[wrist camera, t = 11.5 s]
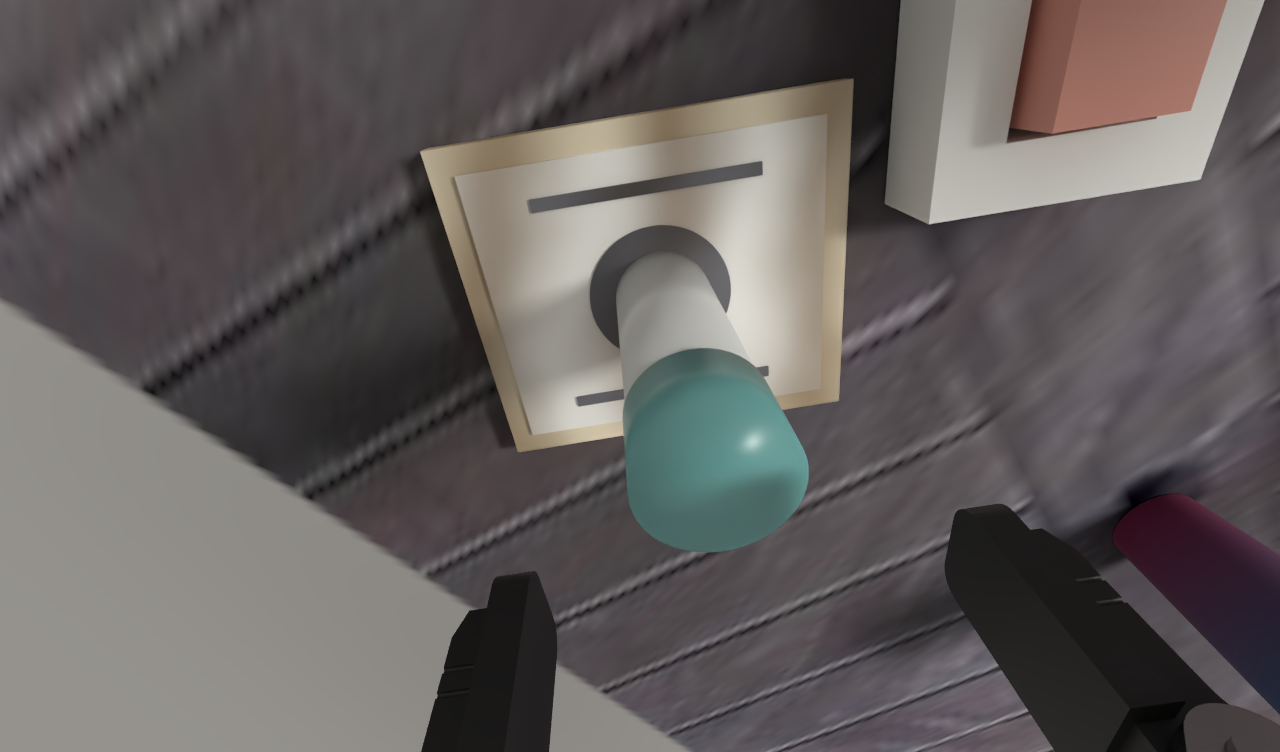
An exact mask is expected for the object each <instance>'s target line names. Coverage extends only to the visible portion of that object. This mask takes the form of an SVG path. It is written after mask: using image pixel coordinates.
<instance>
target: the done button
mask: <svg viewBox="0 0 1280 752" xmlns="http://www.w3.org/2000/svg"><path fill="white" fill-rule="evenodd" d="M1226 3H1227V0H1032V3H1031V9H1030V15H1029V20H1028V26H1027V31H1026V37H1025V42H1024V48H1023V53H1022V59H1021V64H1020V70H1019V76H1018V81H1017V87H1016V92H1015V98H1014V103H1013V109H1012V114H1011V120H1010V125H1009V128H1015V129H1022V130H1029V131H1037V132H1044V133H1051V134H1054V133H1060V132H1066V131H1072V130H1078V129H1084V128H1090V127H1096V126H1102V125H1108V124H1114V123H1120V122H1126V121H1132V120H1138V119H1144V118H1150V117H1156V116H1162V115H1168V114H1174V113H1180V112H1186V111H1191V109H1192V106H1193V103H1194V100H1195V97H1196V94H1197V91H1198V88H1199V85H1200V81H1201V78H1202V75H1203V72H1204V69H1205V66H1206V63H1207V60H1208V57H1209V54H1210V51H1211V48H1212V45H1213V42H1214V39H1215V36H1216V33H1217V30H1218V27H1219V24H1220V21H1221V18H1222V15H1223V12H1224V9H1225V6H1226Z"/></svg>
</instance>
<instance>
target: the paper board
mask: <svg viewBox="0 0 1280 752" xmlns="http://www.w3.org/2000/svg"><path fill="white" fill-rule="evenodd" d="M853 85H854V79H844V78H843V79H837V80H831V81H825V82H819V83H813V84H807V85H801V86H795V87H789V88H783V89H777V90H771V91H765V92H759V93H753V94H747V95H741V96H735V97H729V98H723V99H717V100H711V101H706V102H700V103H694V104H688V105H682V106H676V107H670V108H664V109H658V110H652V111H646V112H640V113H634V114H628V115H622V116H616V117H610V118H604V119H598V120H592V121H586V122H580V123H574V124H568V125H562V126H556V127H550V128H545V129H539V130H533V131H527V132H521V133H515V134H509V135H503V136H497V137H491V138H485V139H479V140H473V141H467V142H461V143H455V144H449V145H443V146H437V147H431V148H427V149H424V150H422V151H420V153H421V156H422V159H423V163H424V166H425V169H426V172H427V175H428V178H429V181H430V184H431V187H432V190H433V193H434V196H435V199H436V202H437V205H438V208H439V212H440V215H441V218H442V221H443V224H444V227H445V230H446V233H447V236H448V239H449V242H450V245H451V248H452V251H453V254H454V257H455V260H456V264H457V267H458V270H459V273H460V276H461V279H462V282H463V285H464V288H465V291H466V294H467V297H468V300H469V303H470V306H471V309H472V313H473V316H474V319H475V322H476V325H477V328H478V331H479V334H480V337H481V340H482V343H483V346H484V349H485V352H486V355H487V358H488V361H489V365H490V368H491V371H492V374H493V377H494V380H495V383H496V386H497V389H498V392H499V395H500V398H501V401H502V404H503V407H504V410H505V414H506V417H507V420H508V423H509V426H510V429H511V432H512V435H513V438H514V441H515V444H516V447H517V450H518V452H523V451H530V450H536V449H542V448H548V447H554V446H561V445H567V444H573V443H579V442H586V441H592V440H598V439H604V438H610V437H617V436H623V435H624V434H623V421H622V417H623V407H624V402H625V401H624V390H623V378H622V366H621V354H620V342H619V331H618V319H617V307H616V291H617V286H618V283H619V281H620V279H621V276H622V275H623V273H624V272H625V271H626V269H627V268H628V267H629V266H630V265H631V264H632V263H633V262H635V261H636V260H638V259H639V258H641V257H643V256H645V255H648V254H650V253H655V252H662V251H669V252H676V253H679V254H682V255H685V256H687V257H689V258H690V259H692V260H693V261H694V262H695V263H697V264H698V265H699V267H700V268H701V269H702V270H703V272H704V273H705V275H706V277H707V279H708V281H709V283H710V285H711V287H712V288H713V290H714V292H715V294H716V296H717V298H718V300H719V302H720V303H721V305H722V307H723V309H724V311H725V313H726V315H727V317H728V318H729V320H730V322H731V324H732V326H733V328H734V330H735V331H736V333H737V335H738V337H739V339H740V341H741V343H742V345H743V346H744V348H745V350H746V352H747V354H748V356H749V358H750V360H751V361H752V363H753V365H754V366H755V367H756V368H757V369H758V370H759V371H760V372H761V374H762V375H763V377H764V378H765V380H766V382H767V383H768V385H769V387H770V389H771V391H772V393H773V394H774V396H775V398H776V400H777V402H778V403H779V405H780V407H781V409H782V410H784V409H791V408H797V407H803V406H809V405H815V404H822V403H828V402H834V401H839V386H840V364H841V343H842V321H843V300H844V278H845V257H846V235H847V214H848V192H849V171H850V149H851V128H852V106H853Z"/></svg>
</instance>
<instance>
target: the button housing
mask: <svg viewBox="0 0 1280 752" xmlns="http://www.w3.org/2000/svg"><path fill="white" fill-rule="evenodd" d="M1031 3H1032V0H901V4H900V17H899V29H898V42H897V54H896V67H895V79H894V92H893V104H892V117H891V129H890V142H889V154H888V167H887V180H886V192H885V204H886V205H888V206H890V207H892V208H895V209H897V210H899V211H901V212H903V213H905V214H908V215H910V216H912V217H914V218H916V219H918V220H921V221H923V222H925V223H927V224H933V223H940V222H946V221H952V220H958V219H964V218H970V217H976V216H982V215H988V214H994V213H1000V212H1006V211H1013V210H1019V209H1025V208H1031V207H1037V206H1043V205H1049V204H1055V203H1061V202H1067V201H1073V200H1079V199H1086V198H1092V197H1098V196H1104V195H1110V194H1116V193H1122V192H1128V191H1134V190H1140V189H1146V188H1152V187H1159V186H1165V185H1171V184H1177V183H1183V182H1189V181H1195V180H1200V179H1201V176H1202V173H1203V171H1204V168H1205V165H1206V162H1207V159H1208V157H1209V154H1210V151H1211V148H1212V145H1213V143H1214V140H1215V137H1216V134H1217V132H1218V129H1219V126H1220V123H1221V120H1222V118H1223V115H1224V112H1225V109H1226V106H1227V104H1228V101H1229V98H1230V95H1231V92H1232V90H1233V87H1234V84H1235V81H1236V79H1237V76H1238V73H1239V70H1240V67H1241V65H1242V62H1243V59H1244V56H1245V53H1246V51H1247V48H1248V45H1249V42H1250V39H1251V37H1252V34H1253V31H1254V28H1255V26H1256V23H1257V20H1258V17H1259V14H1260V12H1261V9H1262V6H1263V3H1264V0H1227V3H1226V6H1225V9H1224V12H1223V15H1222V18H1221V21H1220V24H1219V27H1218V30H1217V33H1216V36H1215V39H1214V42H1213V45H1212V48H1211V51H1210V54H1209V57H1208V60H1207V63H1206V66H1205V69H1204V72H1203V75H1202V78H1201V81H1200V85H1199V88H1198V91H1197V94H1196V97H1195V100H1194V103H1193V106H1192V109H1191V111H1186V112H1180V113H1174V114H1168V115H1162V116H1156V117H1150V118H1144V119H1138V120H1132V121H1126V122H1120V123H1114V124H1108V125H1102V126H1096V127H1090V128H1084V129H1078V130H1072V131H1066V132H1060V133H1054V134H1051V133H1044V132H1037V131H1029V130H1022V129H1015V128H1009V125H1010V120H1011V114H1012V109H1013V103H1014V98H1015V92H1016V87H1017V81H1018V76H1019V70H1020V64H1021V59H1022V53H1023V48H1024V42H1025V37H1026V31H1027V26H1028V20H1029V15H1030V9H1031Z"/></svg>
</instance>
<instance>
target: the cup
mask: <svg viewBox="0 0 1280 752" xmlns="http://www.w3.org/2000/svg"><path fill="white" fill-rule="evenodd" d="M1113 542H1114V545H1115V546H1116V547H1117V548H1118V549H1119V550H1120V551H1121V552H1122V553H1123V554H1124V555H1125V556H1126V557H1127V558H1128V559H1129V560H1130V561H1131V562H1132V563H1133V564H1134V565H1135V567H1136V568H1137V569H1138V570H1139V571H1140V572H1141V573H1142V574H1143V575H1144V576H1145V577H1146V578H1147V579H1148V580H1149V581H1150V582H1151V583H1152V584H1153V585H1154V586H1155V587H1156V588H1157V589H1158V590H1159V591H1160V592H1161V593H1162V594H1163V595H1164V596H1165V597H1166V598H1167V599H1168V600H1169V601H1170V602H1171V604H1172V605H1173V606H1174V607H1175V608H1176V609H1177V610H1178V611H1179V612H1180V613H1181V614H1182V615H1183V616H1184V617H1185V618H1186V619H1187V620H1188V621H1189V622H1190V623H1191V624H1192V625H1193V626H1194V627H1195V628H1196V629H1197V630H1198V631H1199V632H1200V633H1201V634H1202V635H1203V636H1204V637H1205V638H1206V639H1207V640H1208V642H1209V643H1210V644H1211V645H1212V646H1213V647H1214V648H1215V649H1216V650H1217V651H1218V652H1219V653H1220V654H1221V655H1222V656H1223V657H1224V658H1225V659H1226V660H1227V661H1228V662H1229V663H1230V664H1231V665H1232V666H1233V667H1234V668H1235V669H1236V670H1237V671H1238V672H1239V673H1240V674H1241V675H1242V676H1243V677H1244V679H1245V680H1246V681H1247V682H1248V683H1249V684H1250V685H1251V686H1252V687H1253V688H1254V689H1255V690H1256V691H1257V692H1258V693H1259V694H1260V695H1261V696H1262V697H1263V698H1264V699H1265V700H1266V701H1267V702H1268V703H1269V704H1270V705H1271V706H1272V707H1273V708H1274V709H1275V710H1276V711H1277V712H1278V713H1279V714H1280V555H1279V554H1277V553H1276V552H1274V551H1273V550H1271V549H1270V548H1268V547H1266V546H1265V545H1263V544H1262V543H1260V542H1259V541H1257V540H1255V539H1254V538H1252V537H1251V536H1249V535H1248V534H1246V533H1245V532H1243V531H1241V530H1240V529H1238V528H1237V527H1235V526H1234V525H1232V524H1230V523H1229V522H1227V521H1226V520H1224V519H1223V518H1221V517H1220V516H1218V515H1216V514H1215V513H1213V512H1212V511H1210V510H1209V509H1207V508H1205V507H1204V506H1202V505H1201V504H1199V503H1198V502H1196V501H1195V500H1193V499H1191V498H1190V497H1188V496H1185V495H1182V494H1168V495H1163V496H1158V497H1155V498H1153V499H1150V500H1148V501H1146V502H1143V503H1141V504H1140V505H1138V506H1137V507H1135V508H1133V509H1132V510H1131V511H1130V512H1128V513H1127V514H1126V515H1125V516H1124V517H1123V518H1122V519H1121V520H1120V521H1119V523H1118V524H1117V526H1116V528H1115V530H1114V533H1113Z"/></svg>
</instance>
